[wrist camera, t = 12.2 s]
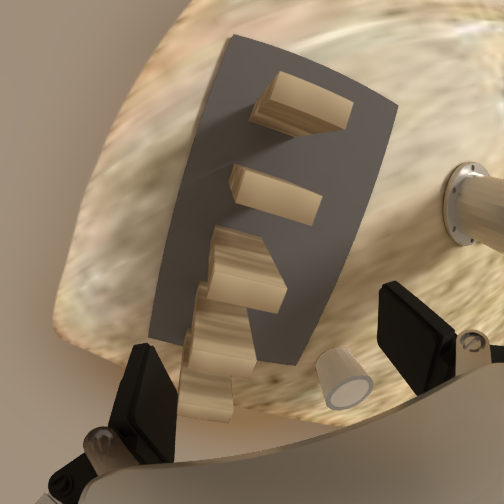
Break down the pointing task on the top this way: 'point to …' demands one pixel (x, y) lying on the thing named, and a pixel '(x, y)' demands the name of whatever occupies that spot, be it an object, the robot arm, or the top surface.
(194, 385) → the domino
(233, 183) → the domino
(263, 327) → the mat
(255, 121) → the end domino
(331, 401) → the shot glass
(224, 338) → the domino
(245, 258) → the domino
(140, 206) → the top surface
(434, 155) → the top surface
